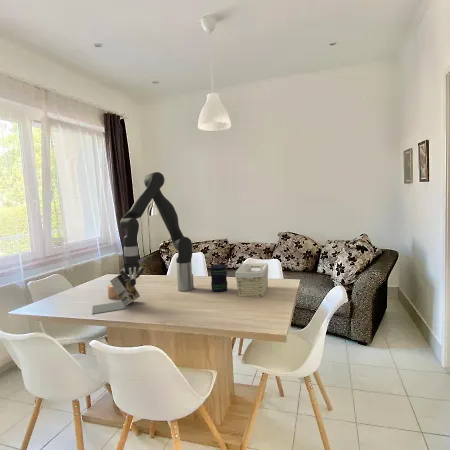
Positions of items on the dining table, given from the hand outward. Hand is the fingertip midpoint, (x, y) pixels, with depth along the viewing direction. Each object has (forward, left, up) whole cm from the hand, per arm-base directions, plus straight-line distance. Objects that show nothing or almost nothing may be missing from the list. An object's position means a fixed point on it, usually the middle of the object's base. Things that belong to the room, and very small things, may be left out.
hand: (133, 285), depth 179 cm
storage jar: (-51, -1, -10) cm, 52 cm away
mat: (+13, 0, -10) cm, 17 cm away
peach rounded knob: (+9, -20, -10) cm, 24 cm away
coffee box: (+1, 0, -9) cm, 9 cm away
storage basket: (-67, +12, -11) cm, 69 cm away
